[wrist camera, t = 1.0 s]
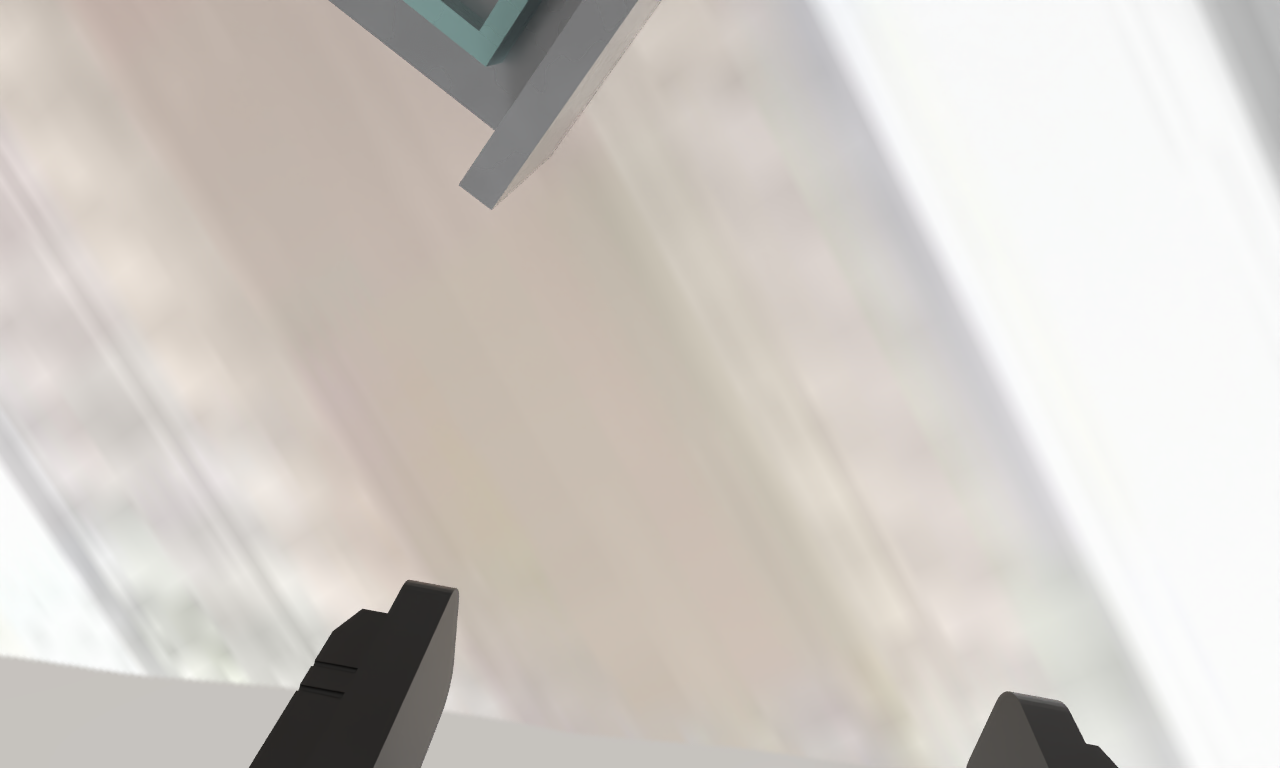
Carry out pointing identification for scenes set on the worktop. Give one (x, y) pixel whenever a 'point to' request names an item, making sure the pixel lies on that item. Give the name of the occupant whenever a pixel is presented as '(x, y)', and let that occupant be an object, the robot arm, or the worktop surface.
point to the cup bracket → (509, 67)
